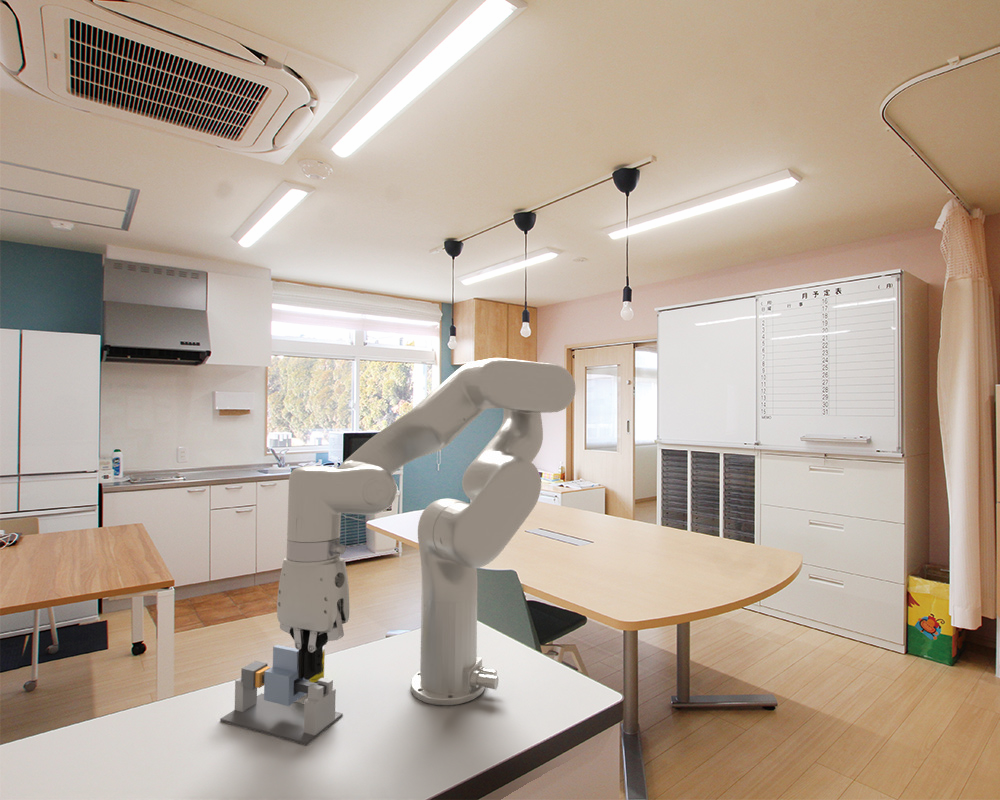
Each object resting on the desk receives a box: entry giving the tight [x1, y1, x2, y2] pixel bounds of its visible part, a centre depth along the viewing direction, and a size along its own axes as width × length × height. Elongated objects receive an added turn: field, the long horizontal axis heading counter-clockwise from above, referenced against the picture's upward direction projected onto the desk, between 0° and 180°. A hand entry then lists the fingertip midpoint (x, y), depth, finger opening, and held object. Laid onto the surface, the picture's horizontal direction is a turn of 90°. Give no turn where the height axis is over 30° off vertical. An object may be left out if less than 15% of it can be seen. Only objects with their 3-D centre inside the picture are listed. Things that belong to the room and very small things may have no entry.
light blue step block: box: [263, 644, 308, 706], centre depth 81 cm, size 5×4×7 cm
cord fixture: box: [219, 660, 344, 746], centre depth 81 cm, size 16×8×7 cm, turn 69°
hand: (310, 674), depth 80 cm, fingers closed
